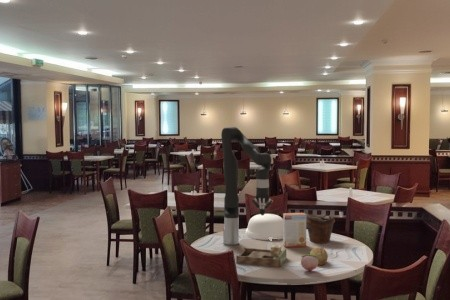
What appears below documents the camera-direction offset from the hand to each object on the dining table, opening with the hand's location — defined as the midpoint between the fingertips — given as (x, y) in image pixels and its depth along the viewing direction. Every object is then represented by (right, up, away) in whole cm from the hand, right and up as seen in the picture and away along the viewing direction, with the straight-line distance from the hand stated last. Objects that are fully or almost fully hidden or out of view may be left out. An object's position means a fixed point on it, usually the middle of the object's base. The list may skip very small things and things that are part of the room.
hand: (262, 215), depth 299 cm
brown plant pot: (+40, -21, +30) cm, 54 cm away
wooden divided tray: (-1, -24, -15) cm, 28 cm away
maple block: (+7, -21, -14) cm, 26 cm away
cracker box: (+22, -22, +17) cm, 35 cm away
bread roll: (+30, -25, -18) cm, 43 cm away
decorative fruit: (+22, -26, -34) cm, 48 cm away
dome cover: (+7, -20, +47) cm, 51 cm away
